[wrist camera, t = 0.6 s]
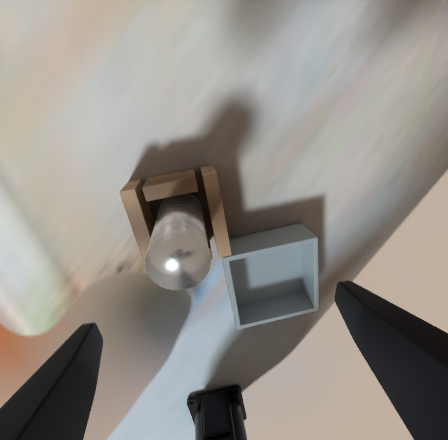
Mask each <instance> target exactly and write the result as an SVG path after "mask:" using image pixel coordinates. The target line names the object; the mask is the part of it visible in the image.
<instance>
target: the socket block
mask: <svg viewBox="0 0 448 440" xmlns="http://www.w3.org/2000/svg"><path fill="white" fill-rule="evenodd" d="M200 169H201V174H202V178H203V183H204V188H205V193H206V198H207V203H208V208H209V213H210V218H211V223H212V228H213V233H214V238H215V242H216V247H217V251H218V255H219V258H220V257H225V256H230V255H231V249H230V243H229V238H228V232H227V226H226V221H225V215H224V209H223V204H222V198H221V192H220V187H219V181H218V175H217V172H216V170H215V168H214V166H213V165H209V166H204V167H200ZM197 191H198V186H197V180H196V176H195V171H194V169H189V170H183V171H178V172H173V173H168V174H163V175H158V176H152V177H148V178H147V180H146V182H145V183H144V184H143V181H142V179H137V180H132V181H128V183H127V184H126V185H125V186H124V187H123V188H122V190H121V191H120V195H121V198H122V201H123V204H124V207H125V210H126V212H127V215H128V218H129V221H130V224H131V227H132V230H133V233H134V235H135V238H136V241H137V244H138V247H139V250H140V253H141V255H142V258H143V261H144V264H145V257H146V254H147V250H148V246H149V243H150V239H151V236H152V232H153V229H154V225H155V221H154V217H153V214H152V211H151V207H150V204H149V201H152V200H157V199H162V198H167V197H172V196H177V195H182V194H187V193H192V192H197ZM206 236H207V242H208V247H209V253H210V260H211V259H213V257H212V252H211V247H210V241H209V237H208V232H206Z"/></svg>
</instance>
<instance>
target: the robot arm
mask: <svg viewBox="0 0 448 440" xmlns="http://www.w3.org/2000/svg"><path fill="white" fill-rule="evenodd" d="M335 302H336V305H337V307H338V309H339V310H340V313H341V315H342V317H343V319H344V321H345V323H346V325H347V327H348V329H349V332H350V334H351V336H352V338H353V340H354V341H355V343H356V345H357V347H358V348H359V350H360V351H361V353H362V355H363V356H364V358H365V360H366V361H367V363H368V365H369V366H370V368H371V370H372V371H373V373H374V374H375V376H376V378H377V379H378V381H379V383H380V384H381V386H382V388H383V389H384V391H385V392H386V394H387V396H388V397H389V399H390V401H391V402H392V404H393V406H394V407H395V409H396V411H397V412H398V414H399V416H400V417H401V419H402V420H403V422H404V424H405V425H406V427H407V429H408V430H409V432H410V433H411V435H412V437H413V438H414V440H448V333H446V332H444V331H442V330H441V329H439V328H437V327H435V326H433V325H431V324H429V323H428V322H426V321H424V320H422V319H420V318H418V317H416V316H415V315H413V314H411V313H409V312H407V311H405V310H404V309H402V308H400V307H398V306H396V305H394V304H392V303H390V302H389V301H387V300H385V299H383V298H381V297H379V296H377V295H375V294H374V293H371V292H370V291H368V290H366V289H364V288H363V287H361V286H359V285H357V284H355V283H353V282H352V281H349V280H346V281H340V282H338V283H337V287H336V293H335ZM102 347H103V338H102V335H101V333H100V331H99V329H98V327H97V325H96V323H86V324H82V325H81V326H80V327H79V328H78V329H77V330H76V331H75V332H74V333H73V334H72V335H71V336H70V337H69V338H68V339H67V340H66V341H65V342H64V343H63V344H62V346H60V347H59V348H58V349H57V351H55V353H54V354H53V355H52V356H51V357H50V358H49V359H48V360H47V361H46V362H45V363H44V364H43V365H42V366H41V367H40V368H39V369H38V370H37V371H36V372H35V373H34V374H33V375H32V376H31V377H30V378H29V379H28V380H27V381H26V382H25V383H24V384H23V385H22V386H21V387H20V389H19V390H18V391H17V392H16V393H15V394H14V395H13V396H12V397H11V398H10V399H9V400H8V401H7V402H6V403H5V404H4V405H3V406H2V407H1V408H0V440H83V438H84V434H85V430H86V426H87V422H88V418H89V414H90V411H91V407H92V403H93V399H94V395H95V390H96V385H97V379H98V373H99V366H100V360H101V353H102ZM187 405H188V408H189V411H190V413H191V416H192V419H193V421H194V424H195V436H196V440H247V436H246V431H245V426H244V420H245V419H246V413H245V408H244V403H243V398H242V394H241V389H240V386H238V385H236V386H232V387H228V388H224V389H220V390H216V391H212V392H208V393H204V394H200V395H196V396H192V397H189V398H188V399H187Z"/></svg>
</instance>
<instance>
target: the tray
mask: <svg viewBox="0 0 448 440" xmlns="http://www.w3.org/2000/svg"><path fill="white" fill-rule="evenodd" d="M229 243H230V249H231V255H230V256H225V257H222V261H223V266H224V271H225V276H226V281H227V287H228V292H229V297H230V302H231V307H232V311H233V315H234V319H235V324H236V328H237V330H239V329H243V328H247V327H251V326H256V325H260V324H264V323H268V322H272V321H276V320H281V319H285V318H289V317H293V316H297V315H302V314H306V313H310V312H314V311H318V310H319V303H318V237H317V236H316V235H315V234H314V233H313V232H311V231H310V230H309V229H308V228H307V227H306V226H305V225H304V224H303V223H298V224H293V225H289V226H284V227H279V228H275V229H270V230H265V231H261V232H256V233H251V234H247V235H242V236H237V237H232V238H229Z"/></svg>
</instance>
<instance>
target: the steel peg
mask: <svg viewBox="0 0 448 440" xmlns="http://www.w3.org/2000/svg"><path fill="white" fill-rule="evenodd" d="M210 264H211V260H210V253H209V247H208V242H207V236H206V230H205V224H204V218H203V212H202V207H201V204H200V202H199V200H198V199H197V198H196V197H195V196H194V195H192V194H190V193H187V194H182V195H177V196H172V197H167V198H164V199H163V200H162V202H161V204H160V208H159V211H158V215H157V218H156V222H155V225H154V229H153V232H152V236H151V239H150V243H149V246H148V250H147V254H146V257H145V268H146V272H147V274H148V275H149V277H150V278H151V279H152V280H153V281H154V282H155V283H156V284H158V285H159V286H161V287H164V288H166V289H171V290H184V289H188V288H191V287H193V286H195V285H197V284H198V283H200V282H201V281H202V280H203V279H204V278H205V277H206V275H207V274H208V272H209V269H210Z"/></svg>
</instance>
